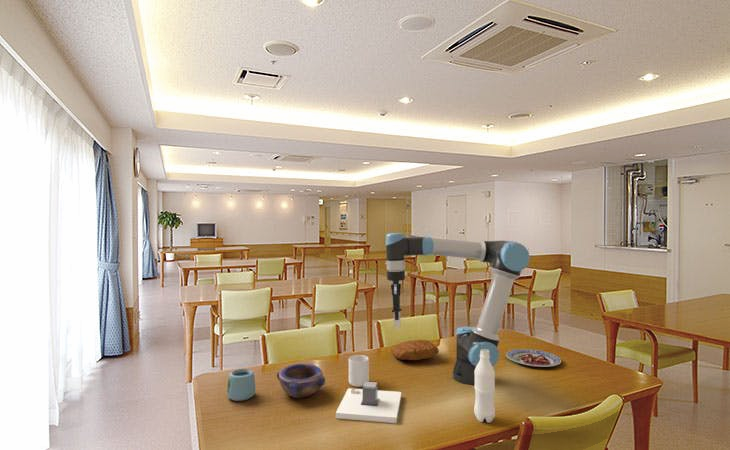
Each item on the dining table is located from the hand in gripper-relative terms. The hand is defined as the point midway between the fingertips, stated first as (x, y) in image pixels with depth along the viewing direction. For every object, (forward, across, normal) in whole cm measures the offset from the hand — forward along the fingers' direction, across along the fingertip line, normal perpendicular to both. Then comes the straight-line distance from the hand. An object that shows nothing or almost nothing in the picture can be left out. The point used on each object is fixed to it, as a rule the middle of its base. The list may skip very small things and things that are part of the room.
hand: (397, 327), depth 171 cm
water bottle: (+28, +19, +32) cm, 47 cm away
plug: (+27, +15, -10) cm, 32 cm away
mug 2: (+27, -8, -18) cm, 34 cm away
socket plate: (+27, +15, -10) cm, 32 cm away
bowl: (+27, +7, -40) cm, 48 cm away
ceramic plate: (+30, -48, +66) cm, 87 cm away
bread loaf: (+28, -43, +6) cm, 52 cm away
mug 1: (+26, +11, -64) cm, 70 cm away
